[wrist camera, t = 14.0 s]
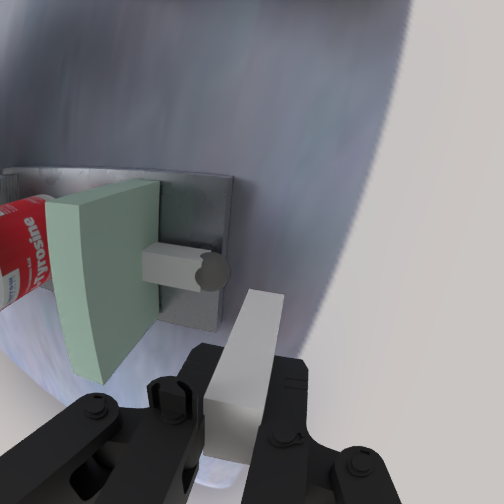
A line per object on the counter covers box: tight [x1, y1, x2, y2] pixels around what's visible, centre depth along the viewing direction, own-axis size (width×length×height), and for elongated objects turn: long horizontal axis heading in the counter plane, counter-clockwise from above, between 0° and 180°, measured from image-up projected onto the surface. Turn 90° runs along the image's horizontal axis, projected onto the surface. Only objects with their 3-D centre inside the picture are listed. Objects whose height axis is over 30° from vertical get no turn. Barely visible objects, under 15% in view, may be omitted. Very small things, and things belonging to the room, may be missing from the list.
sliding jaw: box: [45, 179, 231, 386], centre depth 15 cm, size 7×9×8 cm
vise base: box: [0, 166, 234, 333], centre depth 17 cm, size 20×10×8 cm, turn 84°
